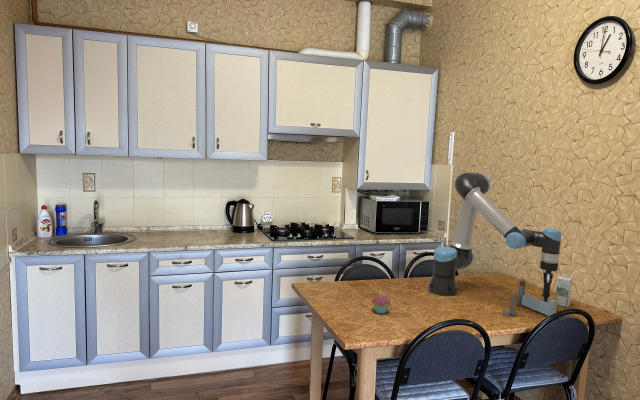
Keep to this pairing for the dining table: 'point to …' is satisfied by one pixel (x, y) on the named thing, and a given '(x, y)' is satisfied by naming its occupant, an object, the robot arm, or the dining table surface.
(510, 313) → the post
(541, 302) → the gate
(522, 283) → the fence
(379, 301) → the cupcake
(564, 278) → the syrup box
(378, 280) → the dining table surface
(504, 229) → the robot arm
